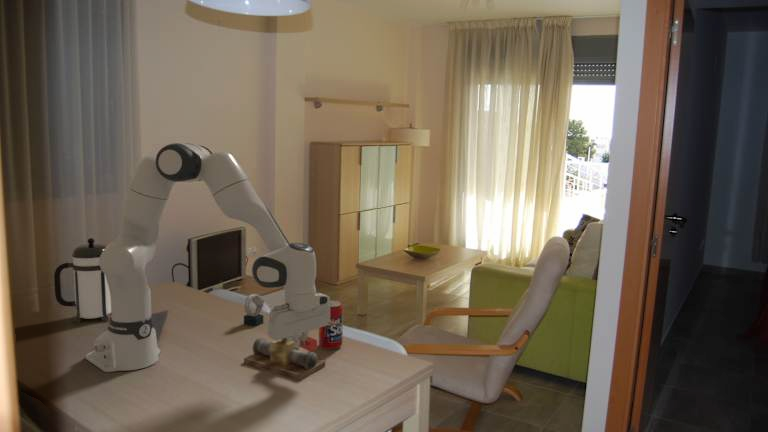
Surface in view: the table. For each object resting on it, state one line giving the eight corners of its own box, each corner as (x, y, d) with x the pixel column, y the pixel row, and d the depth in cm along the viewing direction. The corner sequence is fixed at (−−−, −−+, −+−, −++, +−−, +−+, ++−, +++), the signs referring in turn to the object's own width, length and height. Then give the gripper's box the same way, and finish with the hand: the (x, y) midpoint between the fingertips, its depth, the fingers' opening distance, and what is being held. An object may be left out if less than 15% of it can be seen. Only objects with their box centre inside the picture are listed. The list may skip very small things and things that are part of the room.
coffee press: (102, 308, 223) (98, 232, 218) (125, 317, 213) (121, 238, 209) (55, 319, 209) (50, 238, 204) (77, 329, 200) (73, 245, 195)
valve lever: (277, 336, 175) (277, 328, 174) (285, 334, 177) (285, 326, 176) (309, 351, 164) (309, 342, 163) (317, 348, 166) (317, 340, 166)
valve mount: (243, 362, 176) (243, 334, 175) (270, 350, 186) (270, 323, 185) (300, 380, 165) (300, 350, 164) (325, 366, 176) (325, 338, 174)
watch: (266, 321, 213) (266, 293, 212) (252, 328, 206) (252, 298, 205) (254, 319, 216) (254, 290, 214) (240, 325, 209) (240, 296, 207)
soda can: (322, 341, 196) (323, 298, 194) (344, 343, 195) (345, 300, 192) (315, 349, 189) (316, 305, 186) (338, 352, 187) (339, 307, 185)
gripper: (277, 310, 153) (276, 359, 155) (334, 296, 168) (333, 341, 170) (263, 305, 158) (263, 352, 160) (320, 291, 172) (319, 335, 175)
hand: (299, 346), depth 165 cm, fingers closed
